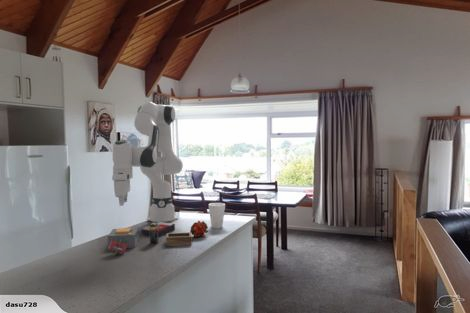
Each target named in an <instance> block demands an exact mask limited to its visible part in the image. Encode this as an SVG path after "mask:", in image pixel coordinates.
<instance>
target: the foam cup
mask: <svg viewBox="0 0 470 313" xmlns="http://www.w3.org/2000/svg"><path fill="white" fill-rule="evenodd" d="M225 209H226V203H223V202H210V203H208V210H209V219H210V225H211V228H212V229H222V228H223V224H224V216H225Z"/></svg>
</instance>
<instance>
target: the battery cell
mask: <svg viewBox="0 0 470 313" xmlns="http://www.w3.org/2000/svg"><path fill="white" fill-rule="evenodd" d="M155 223H156V222H151V223H150V224H149V225H148V226H149V234H150V236H149V244H150V245H156V244H159V237H158V224H155Z"/></svg>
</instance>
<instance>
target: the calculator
mask: <svg viewBox="0 0 470 313" xmlns="http://www.w3.org/2000/svg"><path fill="white" fill-rule="evenodd" d="M154 223H155V224H158V238H159V237H162V236H164V235H166V234H167V233H173V232H175V230H176V226H175V223H173V222H172V223H171V222H154ZM141 235H143V236H147V237H150V234H149V225H148V226H145V227H143V228H142V229H141Z"/></svg>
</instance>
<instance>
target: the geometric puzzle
mask: <svg viewBox="0 0 470 313" xmlns="http://www.w3.org/2000/svg"><path fill="white" fill-rule="evenodd" d="M121 241H122V240H121V239H120V242H121ZM120 242H117V241H116V240H114V241H113V240H112V241H111V242H110V244H109V249H108V250H109V251H112V252H114V253H113V254H114V257H115V256H117V255H120V254H125V252H126V249H127V248H126V247H127V245H128V244H126V243H125V244H124V243H120Z"/></svg>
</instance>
